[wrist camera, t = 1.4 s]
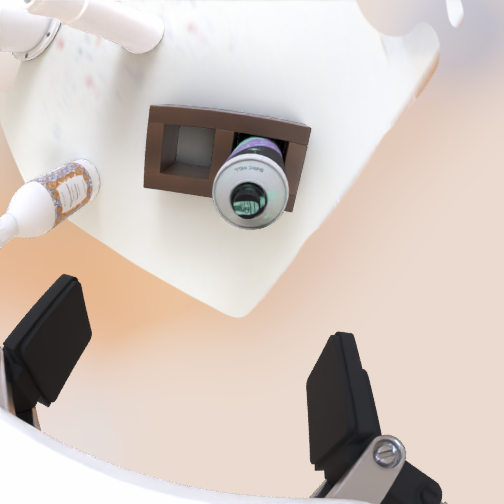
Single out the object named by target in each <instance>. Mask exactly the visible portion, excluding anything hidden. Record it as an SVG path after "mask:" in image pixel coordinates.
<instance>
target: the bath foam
mask: <svg viewBox="0 0 504 504" xmlns="http://www.w3.org/2000/svg"><path fill="white" fill-rule="evenodd" d="M99 186H100V180H99V175H98V172H97V170H96V168H95V167H94V166H93V165H92V164H91V163H90V162H89V161H87V160H83V159H79V160H75V161H72V162H70V163H67V164H65V165H63V166H61V167H58V168H56V169H54V170H52V171H50V172H48V173H46V174H43V175H41V176H39V177H37V178H35V179H33V180H31V181H29V182H27V183H26V184H25V185H23V186H22V187H21V188H20V189H19V190H18V191H17V192H16V193H15V194H14V196H13V198H12V199H11V201H10V204H9V206H8V209H7V212H6V214H5V215H3V216H2V217H0V249H1V248H2V247H3V246H4V245H6V244H7V243H8V242H9V241H11V240H12V239H13V238H14V237H16V236H17V237H24V238H34V237H38V236H41V235H43V234H45V233H47V232H49V231H50V230H51V229H53V228H54V227H55V226H57V225H58V224H59V223H61V222H62V221H63V220H65V219H66V218H67V217H69V216H70V215H71V214H73V213H74V212H76V211H77V210H78V209H80V208H81V207H83V206H84V205H85V204H87V203H88V202H90V201H91V200H92V199H94V197H95V196H96V195H97V193H98V190H99Z"/></svg>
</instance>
